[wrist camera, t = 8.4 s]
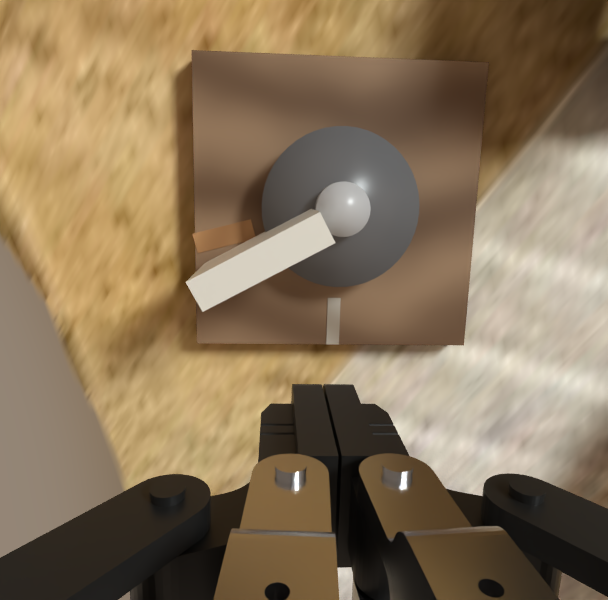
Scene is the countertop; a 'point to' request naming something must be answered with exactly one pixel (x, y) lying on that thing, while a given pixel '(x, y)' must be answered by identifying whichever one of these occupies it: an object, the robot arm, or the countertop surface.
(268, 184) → the dial
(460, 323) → the dial plate
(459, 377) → the countertop surface
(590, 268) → the countertop surface
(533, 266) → the countertop surface
